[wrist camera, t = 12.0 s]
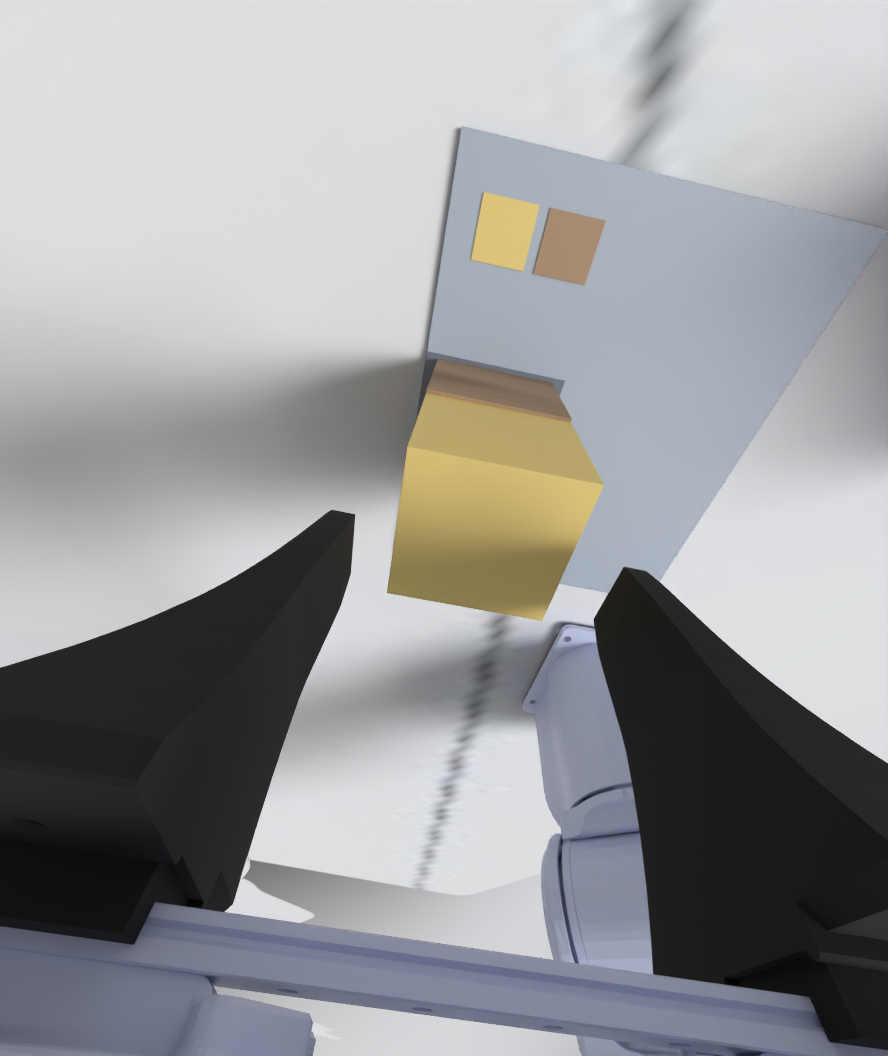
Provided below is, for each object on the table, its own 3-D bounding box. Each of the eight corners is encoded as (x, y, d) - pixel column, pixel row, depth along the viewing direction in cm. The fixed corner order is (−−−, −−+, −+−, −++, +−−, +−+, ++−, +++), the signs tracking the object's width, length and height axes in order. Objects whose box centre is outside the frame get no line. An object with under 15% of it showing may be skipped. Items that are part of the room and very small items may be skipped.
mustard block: (570, 422, 14) (604, 484, 10) (527, 538, 17) (541, 620, 13) (426, 393, 14) (407, 446, 10) (407, 515, 17) (387, 592, 13)
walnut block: (519, 483, 21) (528, 536, 17) (420, 464, 20) (407, 513, 17) (552, 382, 18) (571, 419, 14) (437, 358, 17) (427, 388, 14)
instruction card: (646, 597, 24) (647, 600, 24) (396, 550, 24) (396, 553, 24) (884, 230, 14) (890, 229, 14) (461, 127, 14) (461, 125, 13)
